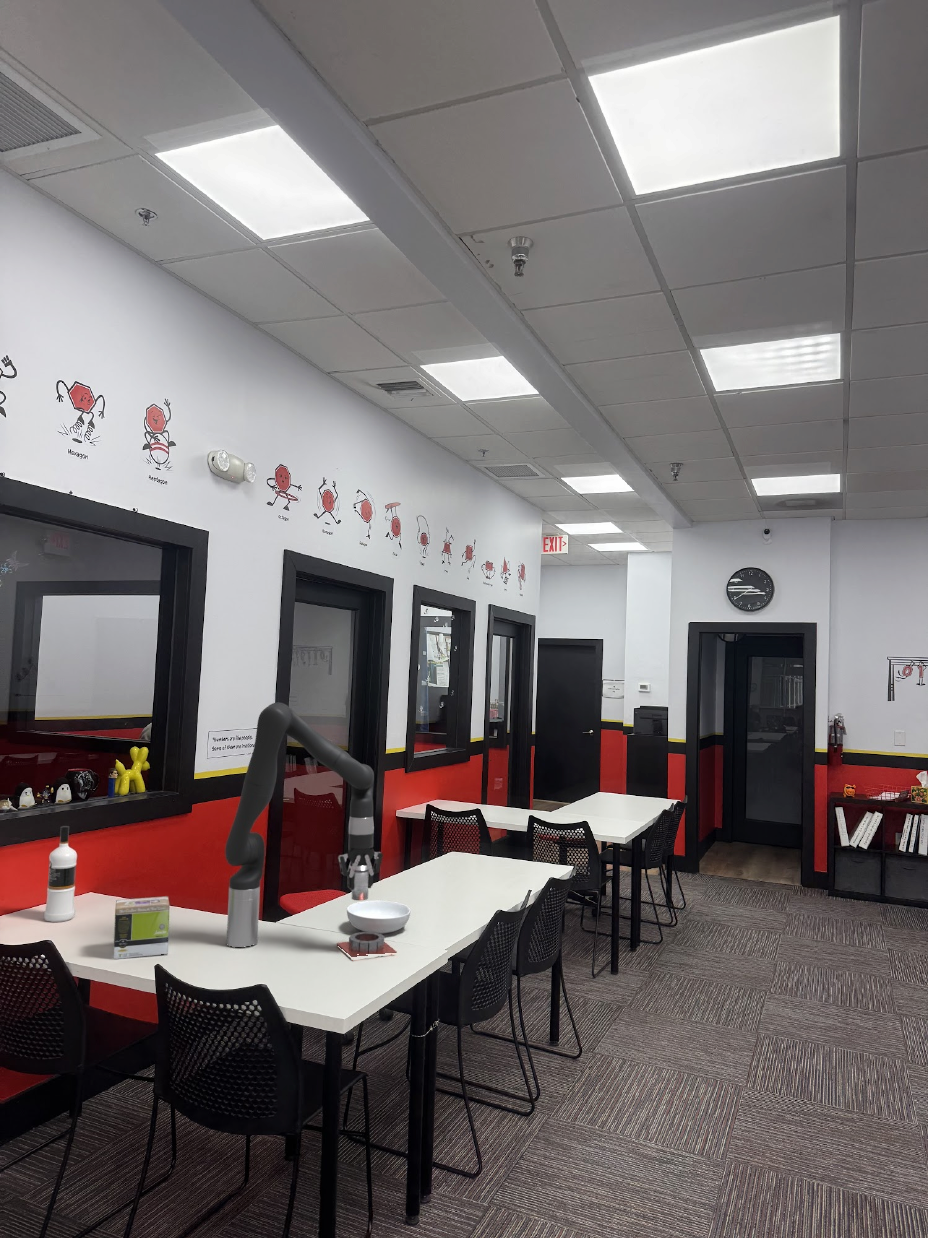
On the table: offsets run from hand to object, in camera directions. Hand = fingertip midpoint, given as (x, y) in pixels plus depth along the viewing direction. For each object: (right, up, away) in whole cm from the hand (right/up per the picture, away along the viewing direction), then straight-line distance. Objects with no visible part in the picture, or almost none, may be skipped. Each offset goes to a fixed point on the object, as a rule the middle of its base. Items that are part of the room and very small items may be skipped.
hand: (359, 888), depth 258 cm
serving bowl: (+3, -21, +23) cm, 31 cm away
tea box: (-64, -17, -6) cm, 66 cm away
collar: (+2, -19, +2) cm, 20 cm away
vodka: (-101, -17, +23) cm, 105 cm away
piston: (0, -3, 0) cm, 3 cm away
